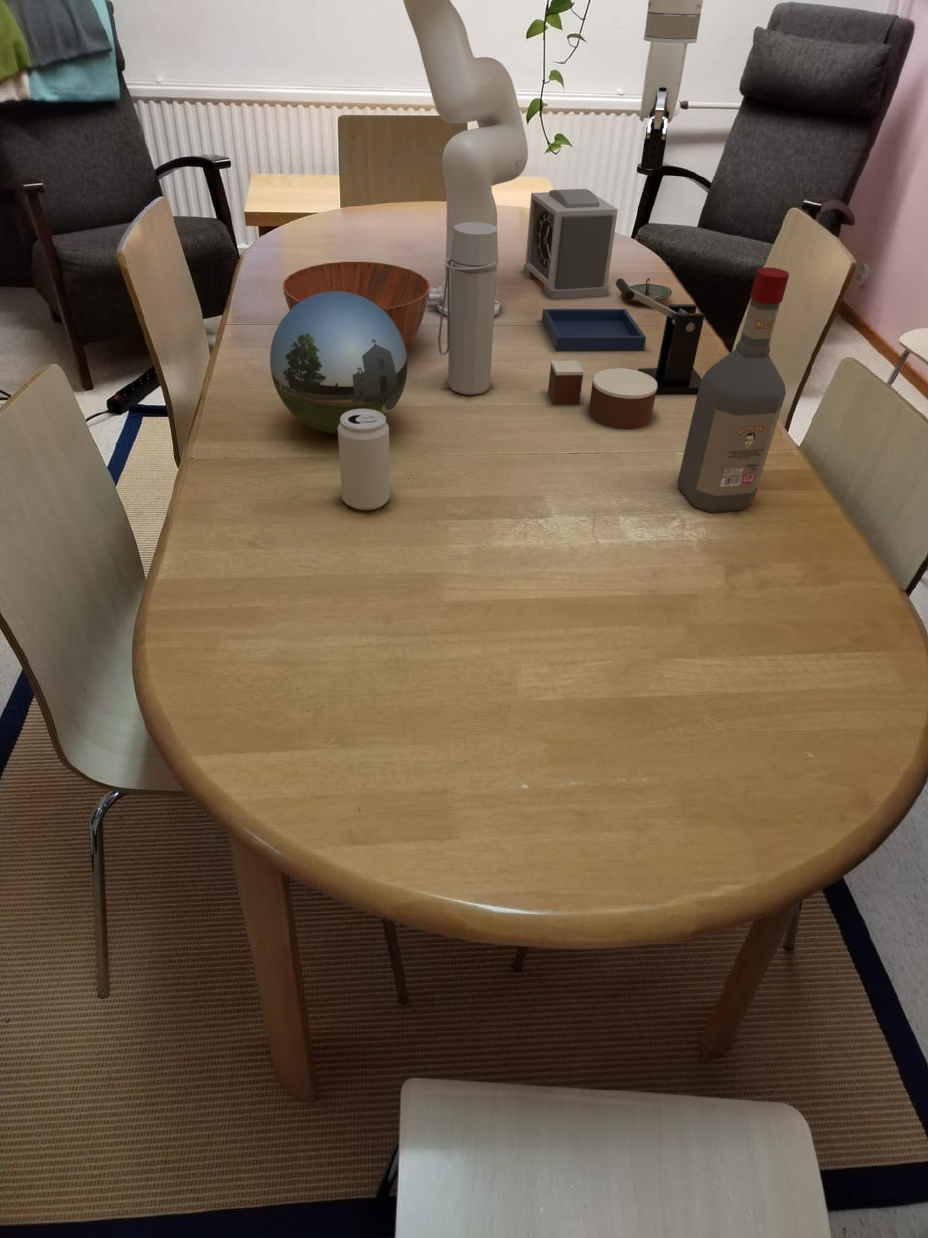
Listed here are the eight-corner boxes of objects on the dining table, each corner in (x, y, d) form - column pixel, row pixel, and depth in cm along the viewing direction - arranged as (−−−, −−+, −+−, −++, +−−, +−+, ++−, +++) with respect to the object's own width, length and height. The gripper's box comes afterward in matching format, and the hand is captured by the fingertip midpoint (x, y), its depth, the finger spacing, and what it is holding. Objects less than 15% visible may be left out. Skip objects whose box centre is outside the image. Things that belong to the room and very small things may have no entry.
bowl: (454, 362, 149) (457, 296, 141) (323, 389, 138) (318, 320, 131) (390, 315, 165) (388, 254, 157) (267, 336, 154) (260, 272, 147)
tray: (556, 351, 154) (557, 337, 153) (541, 321, 165) (542, 308, 164) (643, 350, 156) (646, 337, 155) (623, 321, 167) (625, 308, 166)
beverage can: (342, 488, 115) (337, 406, 107) (390, 487, 115) (388, 406, 108) (341, 513, 110) (335, 429, 102) (390, 513, 110) (389, 429, 103)
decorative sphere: (428, 444, 125) (430, 309, 112) (301, 470, 118) (287, 329, 105) (379, 391, 138) (375, 265, 126) (261, 411, 131) (245, 279, 118)
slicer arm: (621, 300, 132) (630, 286, 130) (612, 287, 136) (620, 273, 135) (692, 337, 137) (701, 324, 136) (681, 323, 141) (689, 310, 140)
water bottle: (496, 382, 143) (507, 224, 127) (482, 400, 137) (491, 238, 121) (445, 373, 145) (449, 216, 129) (429, 391, 139) (431, 229, 123)
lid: (674, 314, 175) (684, 290, 173) (634, 306, 171) (644, 280, 169) (649, 299, 183) (658, 276, 181) (611, 290, 179) (620, 266, 176)
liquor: (759, 509, 115) (829, 283, 95) (697, 515, 113) (755, 286, 94) (729, 476, 121) (789, 258, 102) (670, 480, 120) (719, 260, 101)
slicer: (649, 394, 141) (664, 318, 133) (636, 374, 148) (650, 300, 139) (707, 393, 143) (724, 318, 134) (691, 374, 149) (708, 300, 140)
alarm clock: (522, 270, 189) (529, 180, 177) (576, 267, 192) (587, 179, 180) (551, 299, 175) (560, 203, 164) (609, 295, 179) (623, 201, 167)
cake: (596, 429, 131) (601, 395, 127) (582, 400, 139) (586, 368, 135) (658, 428, 132) (665, 394, 129) (641, 400, 140) (647, 367, 136)
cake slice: (552, 404, 137) (556, 371, 134) (547, 392, 140) (551, 360, 137) (579, 404, 138) (583, 371, 134) (573, 392, 141) (577, 360, 137)
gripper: (647, 23, 128) (630, 150, 139) (642, 32, 115) (624, 172, 125) (697, 25, 127) (676, 153, 138) (699, 35, 114) (676, 175, 124)
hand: (651, 162), depth 132 cm, fingers open, 9 cm apart
